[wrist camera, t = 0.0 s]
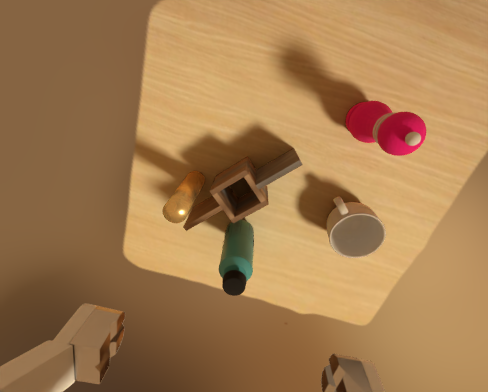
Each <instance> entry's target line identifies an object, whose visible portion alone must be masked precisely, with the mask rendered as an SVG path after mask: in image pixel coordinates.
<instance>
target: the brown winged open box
mask: <svg viewBox="0 0 488 392" xmlns="http://www.w3.org/2000/svg"><path fill="white" fill-rule="evenodd" d="M301 165H302V163H301V161H300V159H299V157H298V155H297V153H296V151H295V149H294V148H293V149H291V150H290V151H288V152H286V153H285V154H283V155H281V156H280V157H278V158H276V159H274V160H273V161H271V162H269V163H268V164H266V165H264V166H263V167H261V168H259V169H258V170H256V169H255V167H254V166H253V164H252V163H251V161H250V159H249V158H248V157H246V158H245V159H243V160H241V161H240V162H238V163H236V164H235V165H233V166H231V167H230V168H228V169H227V170H225V171H223V172H222V173H220V174H218V175H217V176H216V178H215V180H214V182H213V185H212V187H211V189H210V193H211V194H212V195H213V196H212V197H210V198H208V199H207V200H205V201H203V202H202V203H200V204H198V205H197V206H195V207H193V209H192V211H191V213H190V215H189V217H188V219H187V221H186V223H185V225H184V226H183V227H184V228H185V230H186V231H187V230H188V229H190V228H192V227H194V226H195V225H197V224H199V223H201V222H203V221H204V220H206V219H208V218H210V217H211V216H213V215H215V214H217V213H218V212H220V211H222V210H224V212H225V213H226V214H227V216H228V217H229V219H230V220H231V221H232V223H235V222H237V221H239V220H241V219H242V218H244V217H246V216H248V215H250V214H252V213H253V212H255V211H257V210H259V209H261V208H263V207H264V206H266V205H268V191H267V186H266V185H268V184H269V183H271V182H273V181H275V180H277V179H278V178H280V177H282V176H284V175H285V174H287V173H289V172H291V171H292V170H294V169H296V168H298V167H299V166H301ZM243 177H244V178H245V179H246V181H247V182H248V184H249V185H250V187H251V188H252V191H250V192H249V193H247V194H245V195H243V196H242V197H240V198H237V196H236V195H235V193H234V192H233V191H232V189H231V188H230V185H231V184H233V183H235V182H236V181H238V180H240V179H241V178H243Z"/></svg>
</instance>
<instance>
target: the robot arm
mask: <svg viewBox="0 0 488 392" xmlns="http://www.w3.org/2000/svg"><path fill="white" fill-rule="evenodd" d="M124 319H125V312H122V311H118V310H113V309H109V308H105V307H101V306H95V305H91V304H86V303H84V304H83V305H81V306H80V307H79V308H78V310H77V311H76V312H75V314H74V315H73V316H72V317H71V319H70V320H69V321H68V322H67V324H66V325H65V326H64V327H63V329H62V330H61V331H60V332H59V334H58V335H57V336H56V337H55V339H54V340H53V341H49V340H48V341H46V342H44V343H43V344H41V345H39V346H37V347H35V348H33V349H32V350H30V351H28V352H26V353H24V354H22V355H21V356H19V357H17V358H15V359H13V360H11V361H10V362H8V363H6V364H4V365H2V366H0V392H63V391H64V390H65V389H67V388H68V387H69V386H70V385H71V384H73V383H74V382H75V380H76V381H83V382H89V383H95V384H100V383H101V381H102V379H103V377H104V375H105V373H106V371H107V370H108V368H109V366H110V357H112V356H113V355H115V354H116V352H117V350H118V349H119V347H120V344H121V341H122V339H123V334H124V326H123V324H122V323H123V321H124ZM329 363H330V365H328V366H326V367H325V368H324V370H323V372H322V379H321V384H322V391H323V392H385V390H384V387H383V385H382V383H381V380H380V377H379V375H378V373H377V370H376V368H375V365H374V364H373V362H372V361H367V360H362V359H357V358H354V357H348V356H342V355H337V354H332V355H331V356H330V358H329Z"/></svg>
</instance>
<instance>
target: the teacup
mask: <svg viewBox="0 0 488 392" xmlns="http://www.w3.org/2000/svg"><path fill="white" fill-rule="evenodd" d="M333 201H334V203H335V204H336V206H337V207H336V208H335V209H333V210H332V211H331V213H330V214H329V216H328V218H327V224H326V226H327V233H328V236H329V241H330V244H331V247H332V248H333V249H334V251H335V252H337V253H338V254H340V255H342V256H344V257H348V258H360V257H365V256H368V255H370V254H372V253H374V252H375V251H376V250H378V249H379V248H380V247H381V245H382V244H383V242H384V240H385V236H386V230H385V226H384V224H383V223H382V221H381V220H380V219H379V218H378V217H377V216H376V214H375V213H374V212H373V211H372V210H371V209H370V208H369V207H368V206H366V205H364V204H362V203H358V202H348V203H344V202H343V200H342V198H341V197H336V198H334V200H333Z"/></svg>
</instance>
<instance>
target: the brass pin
mask: <svg viewBox="0 0 488 392" xmlns="http://www.w3.org/2000/svg"><path fill="white" fill-rule="evenodd" d="M204 182H205V178H204V176H203V174H202V173H200V172H198V171H192V172H190V173H189V174H188V175H187V176H186V178H185V179H184V180H183V182H182V183H181V184H180V186H179V187H178V188H177V190H176V191H175V192H174V194H173V195H172V196H171V198H170V199H169V200H168V202H167V203H166V204H165V205H164V207H163V215H164V217H165V218H166V219H167V220H168V221H170V222H172V223H180V222H182V221H184V220H185V218H186V216H187V214H188V213H189V211H190V209H191V207H192V205H193V203H194V201H195V199H196V198H197V196H198V194H199V192H200V190H201V188H202V186H203V185H204Z"/></svg>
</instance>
